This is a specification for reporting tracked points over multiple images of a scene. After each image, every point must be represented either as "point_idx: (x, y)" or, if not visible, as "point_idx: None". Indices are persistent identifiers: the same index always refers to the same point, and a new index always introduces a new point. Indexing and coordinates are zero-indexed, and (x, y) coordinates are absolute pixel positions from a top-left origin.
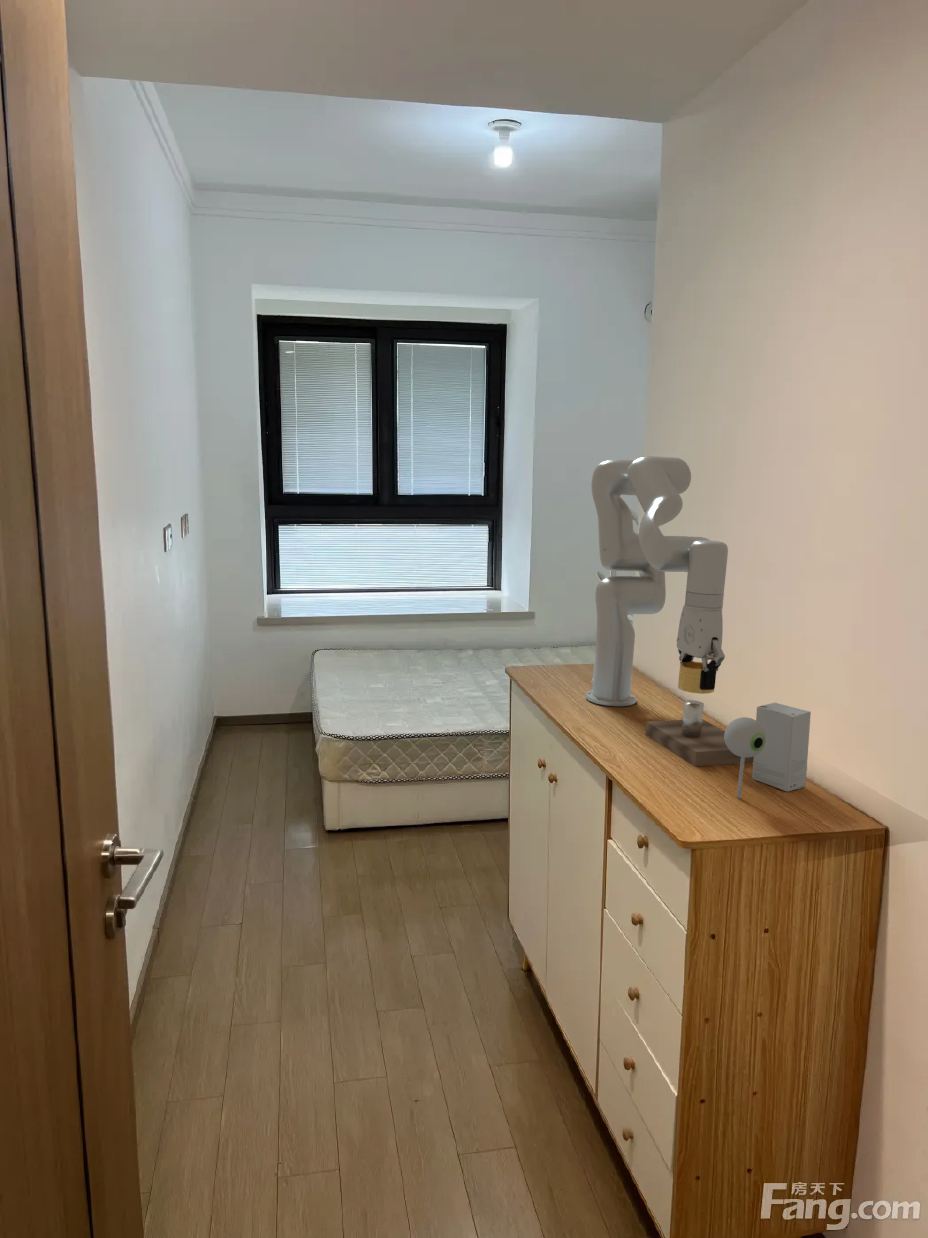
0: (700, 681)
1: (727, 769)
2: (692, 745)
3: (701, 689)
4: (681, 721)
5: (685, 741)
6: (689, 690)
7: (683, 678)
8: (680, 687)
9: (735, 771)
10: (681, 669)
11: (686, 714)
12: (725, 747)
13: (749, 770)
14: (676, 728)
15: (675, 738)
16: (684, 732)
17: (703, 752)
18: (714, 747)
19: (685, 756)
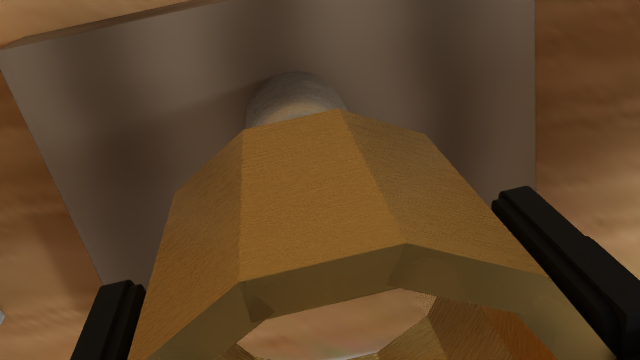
0: (102, 331)
1: (23, 175)
2: (109, 69)
3: (102, 286)
4: (511, 141)
5: (177, 52)
6: (190, 182)
7: (257, 180)
8: (299, 124)
9: (5, 199)
10: (341, 218)
11: (276, 116)
12: (111, 224)
13: (35, 256)
14: (401, 77)
15: (223, 10)
16: (274, 82)
17: (14, 95)
18: (100, 174)
19: (107, 20)
